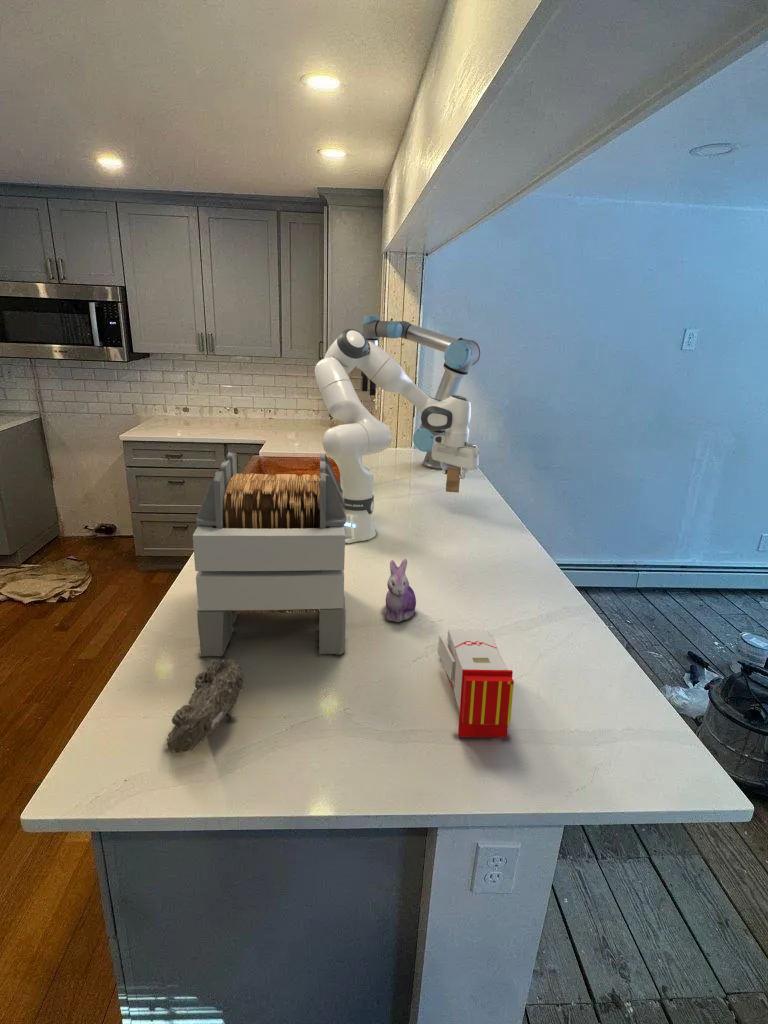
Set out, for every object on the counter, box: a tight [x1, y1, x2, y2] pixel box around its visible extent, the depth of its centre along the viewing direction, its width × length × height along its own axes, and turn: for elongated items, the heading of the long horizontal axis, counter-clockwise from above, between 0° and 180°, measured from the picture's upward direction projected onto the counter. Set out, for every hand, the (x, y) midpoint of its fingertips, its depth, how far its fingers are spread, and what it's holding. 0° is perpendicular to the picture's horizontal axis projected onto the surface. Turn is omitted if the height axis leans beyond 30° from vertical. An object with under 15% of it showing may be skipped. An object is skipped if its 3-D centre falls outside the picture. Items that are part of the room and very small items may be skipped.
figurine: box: [384, 558, 417, 623], centre depth 145 cm, size 9×10×15 cm
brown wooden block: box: [445, 464, 462, 494], centre depth 215 cm, size 5×5×10 cm
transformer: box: [192, 452, 347, 658], centre depth 136 cm, size 34×33×41 cm
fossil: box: [166, 658, 245, 754], centre depth 106 cm, size 22×10×15 cm
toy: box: [437, 628, 515, 738], centre depth 117 cm, size 12×13×30 cm
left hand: (453, 476), depth 214 cm, fingers closed on brown wooden block, 7 cm apart
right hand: (368, 393), depth 284 cm, fingers open, 13 cm apart
